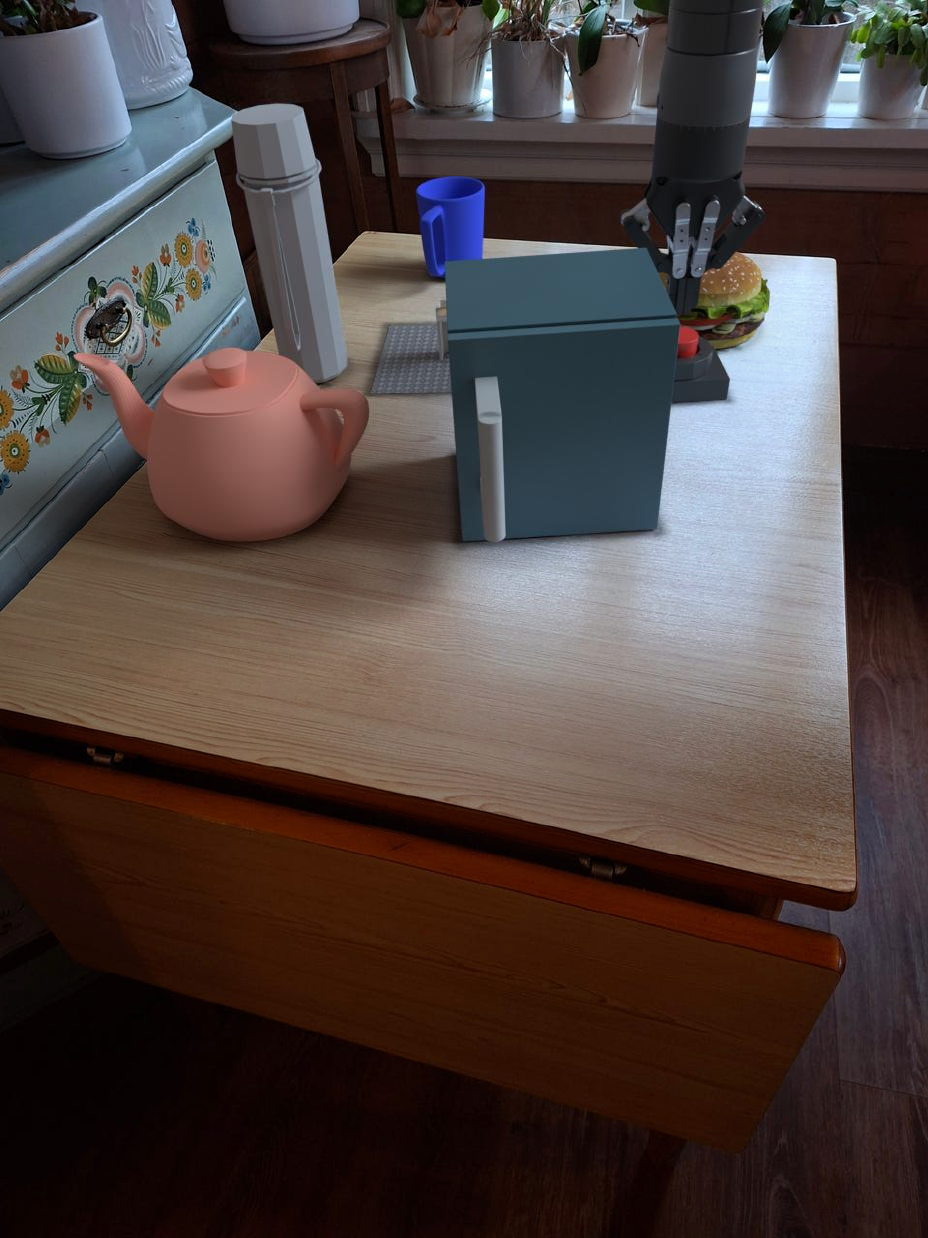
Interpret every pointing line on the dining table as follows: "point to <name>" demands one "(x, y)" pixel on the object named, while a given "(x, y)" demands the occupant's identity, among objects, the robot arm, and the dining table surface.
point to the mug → (451, 221)
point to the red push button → (687, 342)
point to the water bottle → (291, 235)
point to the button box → (700, 376)
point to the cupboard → (554, 291)
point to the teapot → (240, 442)
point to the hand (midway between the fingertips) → (680, 311)
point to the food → (728, 303)
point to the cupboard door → (562, 427)
